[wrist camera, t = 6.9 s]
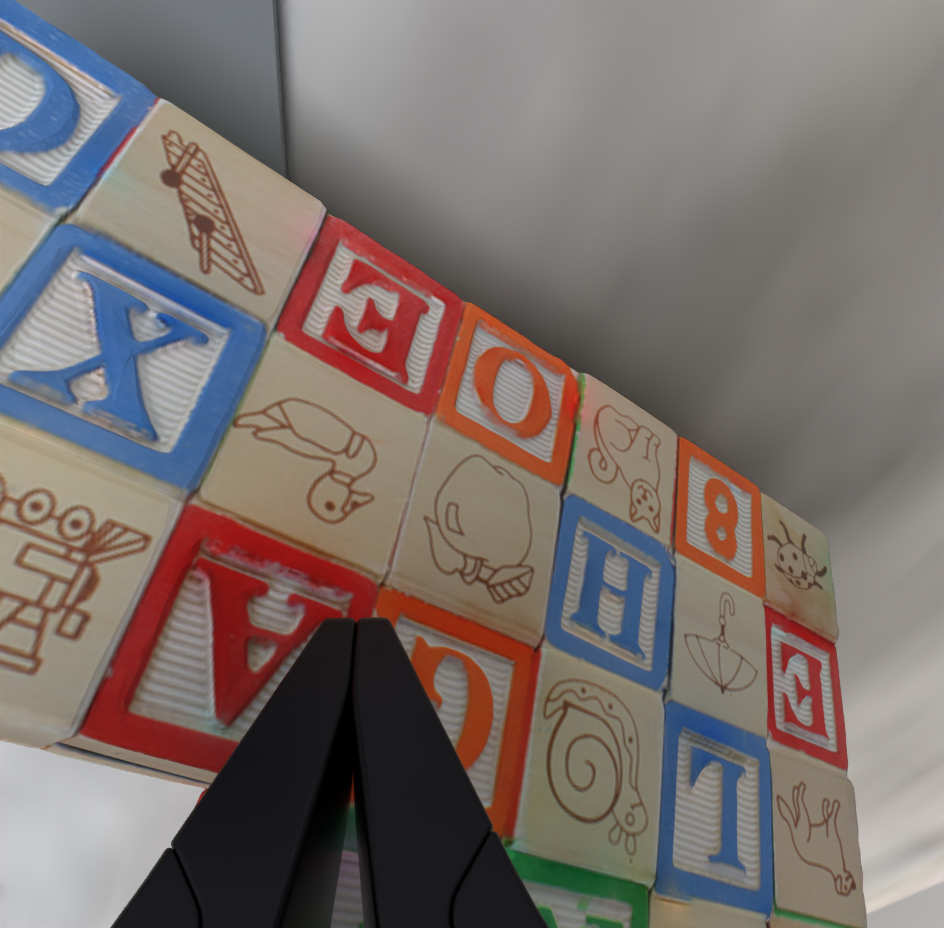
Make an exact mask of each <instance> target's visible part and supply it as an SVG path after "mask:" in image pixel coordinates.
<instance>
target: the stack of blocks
mask: <svg viewBox="0 0 944 928" xmlns="http://www.w3.org/2000/svg"><path fill="white" fill-rule="evenodd" d="M362 617H386V618H388V619H389V620H390V621H391V623H392V625H393V627H394V629H395V631H396V633H397V635H398V637H399V639H400V641H401V643H402V645H403V647H404V649H405V651H406V653H407V655H408V657H409V659H410V661H411V663H412V665H413V667H414V669H415V671H416V673H417V675H418V677H419V679H420V681H421V683H422V685H423V687H424V689H425V691H426V693H427V695H428V697H429V699H430V701H431V703H432V705H433V707H434V709H435V711H436V713H437V715H438V717H439V719H440V721H441V723H442V725H443V727H444V728H445V730H446V732H447V734H448V736H449V738H450V740H451V742H452V744H453V746H454V748H455V750H456V752H457V754H458V756H459V758H460V760H461V762H462V764H463V766H464V768H465V770H466V772H467V774H468V776H469V778H470V780H471V782H472V784H473V786H474V788H475V790H476V792H477V794H478V796H479V798H480V800H481V802H482V804H483V806H484V808H485V810H486V812H487V814H488V816H489V818H490V820H491V822H492V824H493V831H495V832H497V833H498V835H499V837H500V839H501V841H502V843H503V845H504V847H505V849H506V851H507V853H508V855H509V857H510V859H511V861H512V863H513V865H514V867H515V868H516V870H517V872H518V874H519V876H520V878H521V879H522V881H523V883H524V885H525V887H526V889H527V891H528V892H529V894H530V896H531V898H532V900H533V902H534V903H535V905H536V907H537V908H538V910H539V912H540V913H541V915H542V916H543V918H544V920H545V921H546V923H547V925H548V926H549V928H867V919H866V907H865V901H864V894H863V872H862V866H861V858H860V848H859V842H858V823H857V814H856V804H855V794H854V788H853V785H852V783H851V781H850V780H849V779H848V777H847V769H848V759H847V748H846V731H845V723H844V714H843V706H842V697H841V688H840V679H839V670H838V661H837V653H836V647H835V646H834V645H835V643H836V642H837V640H838V634H839V630H838V624H837V617H836V604H835V595H834V585H833V579H832V572H831V563H830V554H829V544H828V539H827V537H826V535H825V534H824V533H823V532H821V531H820V530H819V529H817V528H815V527H814V526H812V525H811V524H809V523H808V522H806V521H805V520H803V519H802V518H800V517H799V516H797V515H796V514H795V513H793V512H792V511H790V510H788V509H787V508H785V507H784V506H782V505H781V504H779V503H778V502H776V501H775V500H774V499H772V498H770V497H769V496H767V495H765V494H764V493H761V492H760V490H759V488H758V487H757V486H756V485H755V484H753V483H752V482H750V481H749V480H748V479H746V478H745V477H743V476H742V475H740V474H739V473H737V472H736V471H734V470H732V469H731V468H729V467H727V466H726V465H725V464H724V463H722V462H721V461H719V460H718V459H716V458H714V457H713V456H711V455H710V454H708V453H707V452H705V451H704V450H702V449H701V448H699V447H698V446H696V445H695V444H693V443H692V442H690V441H689V440H687V439H685V438H682V437H680V436H678V435H677V434H676V433H675V432H674V431H673V430H672V429H671V428H669V427H668V426H666V425H665V424H664V423H662V422H661V421H659V420H658V419H656V418H655V417H653V416H652V415H650V414H649V413H647V412H646V411H644V410H643V409H641V408H640V407H638V406H637V405H635V404H634V403H632V402H631V401H629V400H628V399H627V398H625V397H624V396H622V395H620V394H619V393H617V392H616V391H614V390H613V389H611V388H610V387H608V386H607V385H605V384H604V383H602V382H600V381H599V380H597V379H596V378H594V377H592V376H590V375H589V374H586V373H578V372H577V371H575V370H574V369H572V368H570V367H569V366H568V365H567V364H566V363H565V362H564V361H563V360H561V359H559V358H557V357H555V356H552V355H550V354H549V353H548V352H546V351H545V350H543V349H541V348H540V347H538V346H536V345H535V344H533V343H532V342H531V341H529V340H528V339H527V338H525V337H524V336H522V335H521V334H519V333H518V332H516V331H514V330H513V329H511V328H510V327H508V326H507V325H505V324H504V323H502V322H501V321H499V320H498V319H496V318H495V317H493V316H492V315H490V314H488V313H487V312H485V311H484V310H482V309H481V308H479V307H478V306H476V305H474V304H473V303H470V302H466V301H462V300H461V299H460V298H459V297H458V296H457V295H456V294H455V293H453V292H452V291H450V290H449V289H447V288H446V287H444V286H443V285H441V284H439V283H438V282H436V281H435V280H433V279H432V278H430V277H429V276H427V275H426V274H425V273H423V272H422V271H421V270H419V269H418V268H416V267H414V266H413V265H411V264H410V263H408V262H407V261H405V260H404V259H402V258H401V257H399V256H398V255H396V254H395V253H393V252H391V251H389V250H388V249H386V248H384V247H383V246H381V245H380V244H379V243H377V242H376V241H375V240H373V239H372V238H370V237H368V236H367V235H365V234H364V233H362V232H360V231H359V230H357V229H356V228H354V227H353V226H351V225H350V224H348V223H347V222H345V221H344V220H341V219H339V218H336V217H334V216H332V215H330V214H328V213H327V210H326V208H325V206H324V205H323V204H322V203H321V201H319V200H318V199H316V198H315V197H313V196H312V195H310V194H308V193H307V192H305V191H304V190H302V189H301V188H299V187H298V186H296V185H295V184H293V183H292V182H290V181H289V180H287V179H286V178H284V177H282V176H281V175H279V174H278V173H276V172H275V171H273V170H272V169H270V168H269V167H267V166H266V165H264V164H263V163H261V162H260V161H258V160H256V159H255V158H253V157H252V156H250V155H249V154H247V153H246V152H244V151H243V150H241V149H240V148H238V147H237V146H235V145H234V144H232V143H231V142H229V141H228V140H226V139H225V138H223V137H222V136H220V135H219V134H217V133H216V132H214V131H213V130H211V129H210V128H208V127H207V126H205V125H204V124H202V123H201V122H199V121H198V120H196V119H195V118H193V117H192V116H190V115H189V114H187V113H186V112H184V111H183V110H181V109H179V108H178V107H176V106H175V105H173V104H172V103H170V102H169V101H166V100H164V99H162V98H159V97H157V96H156V95H155V94H154V93H152V92H151V91H150V90H149V89H148V88H147V87H146V86H145V85H144V84H142V83H141V82H139V81H138V80H136V79H135V78H133V77H132V76H130V75H129V74H127V73H126V72H124V71H123V70H121V69H120V68H118V67H116V66H115V65H113V64H112V63H110V62H109V61H107V60H105V59H103V58H102V57H100V56H99V55H98V54H96V53H95V52H94V51H93V50H91V49H90V48H88V47H87V46H85V45H83V44H82V43H80V42H79V41H77V40H76V39H74V38H72V37H71V36H69V35H68V34H66V33H65V32H63V31H61V30H60V29H58V28H56V27H55V26H53V25H52V24H50V23H48V22H47V21H45V20H44V19H42V18H40V17H39V16H37V15H36V14H34V13H33V12H32V11H30V10H29V9H27V8H26V7H25V6H23V5H21V4H20V3H18V2H16V1H15V0H0V740H1V741H5V742H9V743H13V744H18V745H22V746H26V747H31V748H38V749H41V750H45V751H48V752H51V753H54V754H57V755H60V756H65V757H69V758H73V759H78V760H82V761H86V762H90V763H95V764H99V765H103V766H107V767H112V768H116V769H120V770H125V771H129V772H133V773H138V774H142V775H146V776H150V777H155V778H159V779H163V780H168V781H172V782H177V783H182V784H187V785H192V786H197V787H201V788H206V789H205V790H204V791H203V792H202V793H201V795H200V797H199V799H198V802H199V801H200V799H201V798H202V796H203V795H204V793H205V792H206V790H207V789H208V787H209V786H210V785H211V783H212V782H213V780H214V779H215V777H216V776H217V774H218V773H219V771H220V770H221V769H222V767H223V766H224V764H225V763H226V761H227V760H228V758H229V757H230V755H231V754H232V752H233V751H234V750H235V748H236V747H237V745H238V744H239V742H240V741H241V739H242V738H243V736H244V735H245V733H246V732H247V731H248V729H249V728H250V726H251V725H252V723H253V722H254V720H255V719H256V717H257V716H258V715H259V713H260V712H261V710H262V709H263V707H264V706H265V704H266V703H267V701H268V700H269V698H270V697H271V696H272V694H273V693H274V691H275V690H276V688H277V687H278V685H279V684H280V682H281V681H282V679H283V678H284V677H285V675H286V674H287V672H288V671H289V669H290V668H291V666H292V665H293V663H294V662H295V661H296V659H297V658H298V656H299V655H300V653H301V652H302V650H303V649H304V647H305V646H306V644H307V643H308V642H309V640H310V639H311V637H312V636H313V634H314V633H315V631H316V630H317V628H318V627H319V625H320V624H321V623H322V622H323V621H324V620H325V619H327V618H354V619H355V621H356V623H357V621H358V619H360V618H362ZM198 802H197V804H198ZM197 804H196V805H197ZM330 928H364V922H363V910H362V897H361V884H360V872H359V859H358V846H357V834H356V821H355V808H354V785H353V784H352V794H351V802H350V809H349V815H348V822H347V828H346V834H345V840H344V846H343V852H342V858H341V865H340V871H339V877H338V883H337V889H336V895H335V902H334V908H333V914H332V920H331V926H330Z"/></svg>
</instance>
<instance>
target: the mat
mask: <svg viewBox="0 0 944 928" xmlns="http://www.w3.org/2000/svg"><path fill="white" fill-rule="evenodd" d="M15 1H16V2H18V3H20V4H21V5H23V6H25V7H26V8H27V9H29V10H30V11H32V12H33V13H34V14H36V15H37V16H39V17H40V18H42V19H44V20H45V21H47V22H48V23H50V24H52V25H53V26H55V27H56V28H58V29H60V30H61V31H63V32H65V33H66V34H68V35H69V36H71V37H72V38H74V39H76V40H77V41H79V42H80V43H82V44H83V45H85V46H87V47H88V48H90V49H91V50H93V51H94V52H95V53H96V54H98V55H99V56H100V57H102V58H103V59H105V60H107V61H109V62H110V63H112V64H113V65H115V66H116V67H118V68H120V69H121V70H123V71H124V72H126V73H127V74H129V75H130V76H132V77H133V78H135V79H136V80H138V81H139V82H141V83H142V84H144V85H145V86H146V87H147V88H148V89H149V90H150V91H151V92H152V93H154V94H155V95H156V96H157V97H159V98H162V99H164V100H166V101H169V102H170V103H172V104H173V105H175V106H176V107H178V108H179V109H181V110H183V111H184V112H186V113H187V114H189V115H190V116H192V117H193V118H195V119H196V120H198V121H199V122H201V123H202V124H204V125H205V126H207V127H208V128H210V129H211V130H213V131H214V132H216V133H217V134H219V135H220V136H222V137H223V138H225V139H226V140H228V141H229V142H231V143H232V144H234V145H235V146H237V147H238V148H240V149H241V150H243V151H244V152H246V153H247V154H249V155H250V156H252V157H253V158H255V159H256V160H258V161H260V162H261V163H263V164H264V165H266V166H267V167H269V168H270V169H272V170H273V171H275V172H276V173H278V174H279V175H281V176H282V177H284V178H286V179H287V170H286V153H285V137H284V121H283V104H282V88H281V72H280V55H279V39H278V23H277V6H276V0H15Z"/></svg>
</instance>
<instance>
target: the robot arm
mask: <svg viewBox="0 0 944 928" xmlns="http://www.w3.org/2000/svg"><path fill="white" fill-rule="evenodd" d="M352 784H353V785H354V808H355V821H356V834H357V846H358V859H359V872H360V884H361V897H362V910H363V922H364V928H549V926H548V925H547V923H546V921H545V920H544V918H543V916H542V915H541V913H540V912H539V910H538V908H537V907H536V905H535V903H534V902H533V900H532V898H531V896H530V894H529V892H528V891H527V889H526V887H525V885H524V883H523V881H522V879H521V878H520V876H519V874H518V872H517V870H516V868H515V867H514V865H513V863H512V861H511V859H510V857H509V855H508V853H507V851H506V849H505V847H504V845H503V843H502V841H501V839H500V837H499V835H498V833H497V832H495V831H493V824H492V822H491V820H490V818H489V816H488V814H487V812H486V810H485V808H484V806H483V804H482V802H481V800H480V798H479V796H478V794H477V792H476V790H475V788H474V786H473V784H472V782H471V780H470V778H469V776H468V774H467V772H466V770H465V768H464V766H463V764H462V762H461V760H460V758H459V756H458V754H457V752H456V750H455V748H454V746H453V744H452V742H451V740H450V738H449V736H448V734H447V732H446V730H445V728H444V727H443V725H442V723H441V721H440V719H439V717H438V715H437V713H436V711H435V709H434V707H433V705H432V703H431V701H430V699H429V697H428V695H427V693H426V691H425V689H424V687H423V685H422V683H421V681H420V679H419V677H418V675H417V673H416V671H415V669H414V667H413V665H412V663H411V661H410V659H409V657H408V655H407V653H406V651H405V649H404V647H403V645H402V643H401V641H400V639H399V637H398V635H397V633H396V631H395V629H394V627H393V625H392V623H391V621H390V620H389V619H388V618H386V617H362V618H360V619H358V621H357V623H356V621H355V619H354V618H327V619H325V620H324V621H323V622H322V623H321V624H320V625H319V627H318V628H317V630H316V631H315V633H314V634H313V636H312V637H311V639H310V640H309V642H308V643H307V644H306V646H305V647H304V649H303V650H302V652H301V653H300V655H299V656H298V658H297V659H296V661H295V662H294V663H293V665H292V666H291V668H290V669H289V671H288V672H287V674H286V675H285V677H284V678H283V679H282V681H281V682H280V684H279V685H278V687H277V688H276V690H275V691H274V693H273V694H272V696H271V697H270V698H269V700H268V701H267V703H266V704H265V706H264V707H263V709H262V710H261V712H260V713H259V715H258V716H257V717H256V719H255V720H254V722H253V723H252V725H251V726H250V728H249V729H248V731H247V732H246V733H245V735H244V736H243V738H242V739H241V741H240V742H239V744H238V745H237V747H236V748H235V750H234V751H233V752H232V754H231V755H230V757H229V758H228V760H227V761H226V763H225V764H224V766H223V767H222V769H221V770H220V771H219V773H218V774H217V776H216V777H215V779H214V780H213V782H212V783H211V785H210V786H209V787H208V789H207V790H206V792H205V793H204V795H203V796H202V798H201V799H200V801H199V802H198V804H197V805H196V806H195V808H194V809H193V811H192V812H191V814H190V815H189V817H188V818H187V820H186V821H185V823H184V824H183V825H182V827H181V828H180V830H179V831H178V833H177V834H176V836H175V837H174V839H173V840H172V842H171V846H172V848H167V849H166V850H165V851H164V853H163V854H162V856H161V857H160V858H159V860H158V861H157V863H156V864H155V866H154V867H153V869H152V870H151V872H150V873H149V875H148V876H147V877H146V879H145V880H144V882H143V883H142V885H141V886H140V887H139V889H138V890H137V892H136V893H135V894H134V896H133V897H132V898H131V900H130V901H129V903H128V904H127V905H126V907H125V908H124V910H123V911H122V912H121V914H120V915H119V916H118V918H117V919H116V921H115V922H114V923H113V925H112V926H111V927H110V928H330V926H331V920H332V914H333V908H334V902H335V895H336V889H337V883H338V877H339V871H340V865H341V858H342V852H343V846H344V840H345V834H346V828H347V822H348V815H349V809H350V802H351V794H352Z"/></svg>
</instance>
